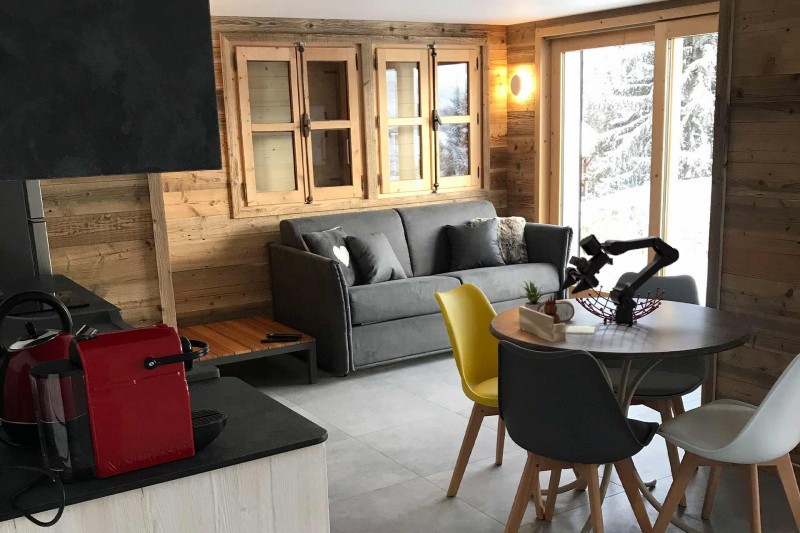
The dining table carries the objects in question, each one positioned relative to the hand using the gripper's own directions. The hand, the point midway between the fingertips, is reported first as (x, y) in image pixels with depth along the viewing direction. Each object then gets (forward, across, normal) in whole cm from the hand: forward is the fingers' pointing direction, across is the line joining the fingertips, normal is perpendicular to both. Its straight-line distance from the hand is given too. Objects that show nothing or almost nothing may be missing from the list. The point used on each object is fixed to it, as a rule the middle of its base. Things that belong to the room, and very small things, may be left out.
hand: (566, 291), depth 304 cm
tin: (+8, -14, +13) cm, 21 cm away
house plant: (+13, -25, +9) cm, 29 cm away
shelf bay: (+19, +4, +4) cm, 19 cm away
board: (+7, +6, +14) cm, 16 cm away
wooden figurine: (+16, +3, +7) cm, 17 cm away
